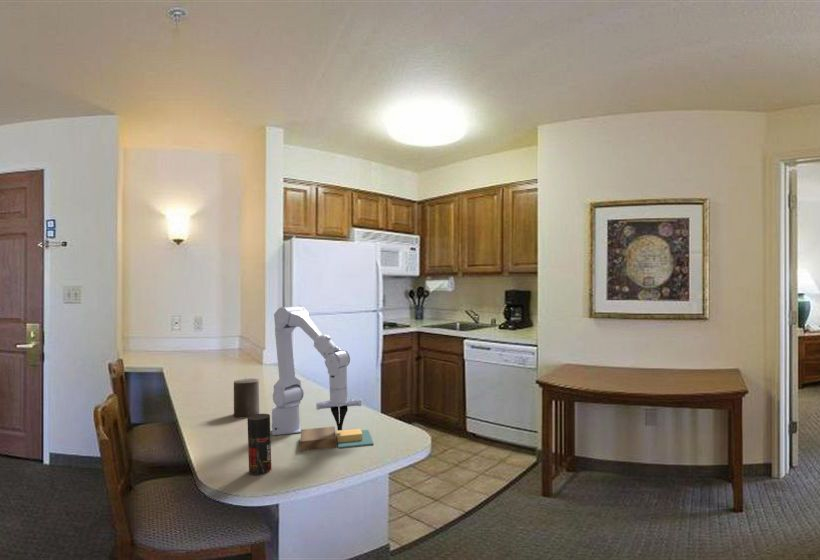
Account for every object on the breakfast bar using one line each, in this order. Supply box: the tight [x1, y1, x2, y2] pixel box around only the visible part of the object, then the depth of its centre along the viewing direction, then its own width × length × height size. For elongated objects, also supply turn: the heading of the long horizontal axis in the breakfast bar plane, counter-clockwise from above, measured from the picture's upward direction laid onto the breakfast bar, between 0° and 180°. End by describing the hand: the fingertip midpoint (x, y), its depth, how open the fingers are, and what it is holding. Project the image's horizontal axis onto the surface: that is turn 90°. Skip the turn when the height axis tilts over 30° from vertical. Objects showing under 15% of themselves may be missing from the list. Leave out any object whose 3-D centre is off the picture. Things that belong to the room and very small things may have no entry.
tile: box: [336, 428, 363, 443], centre depth 149 cm, size 8×6×2 cm
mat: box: [335, 429, 374, 449], centre depth 150 cm, size 11×14×1 cm
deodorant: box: [246, 413, 272, 476], centre depth 127 cm, size 6×6×15 cm
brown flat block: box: [299, 426, 338, 452], centre depth 147 cm, size 11×12×3 cm
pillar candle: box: [233, 377, 260, 418], centre depth 184 cm, size 10×10×15 cm
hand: (339, 429), depth 149 cm, fingers closed
